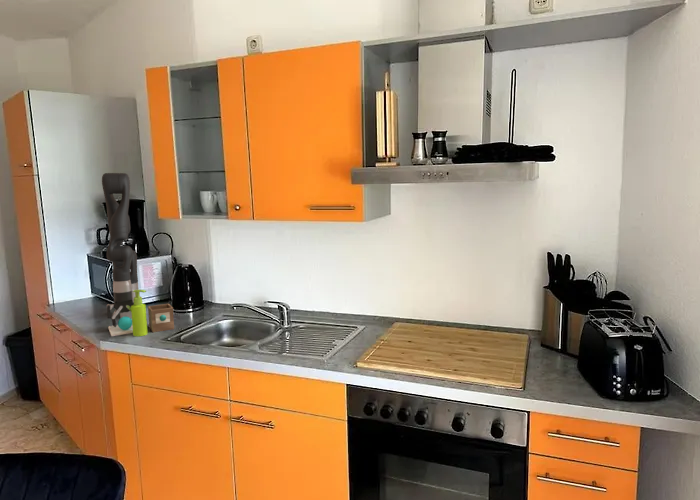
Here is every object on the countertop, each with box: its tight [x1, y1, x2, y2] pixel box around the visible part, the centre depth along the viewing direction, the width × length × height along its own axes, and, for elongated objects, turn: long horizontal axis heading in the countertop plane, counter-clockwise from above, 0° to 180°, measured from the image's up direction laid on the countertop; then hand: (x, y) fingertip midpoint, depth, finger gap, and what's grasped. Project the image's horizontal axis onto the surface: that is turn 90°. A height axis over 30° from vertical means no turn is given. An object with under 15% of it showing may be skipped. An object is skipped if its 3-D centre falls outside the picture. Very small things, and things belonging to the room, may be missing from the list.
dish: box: [108, 324, 133, 337], centre depth 226 cm, size 13×13×1 cm
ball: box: [117, 316, 132, 330], centre depth 225 cm, size 6×6×6 cm
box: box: [147, 303, 175, 333], centre depth 227 cm, size 10×9×10 cm
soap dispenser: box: [131, 289, 148, 337], centre depth 218 cm, size 6×7×20 cm
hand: (125, 325), depth 226 cm, fingers open, 8 cm apart
